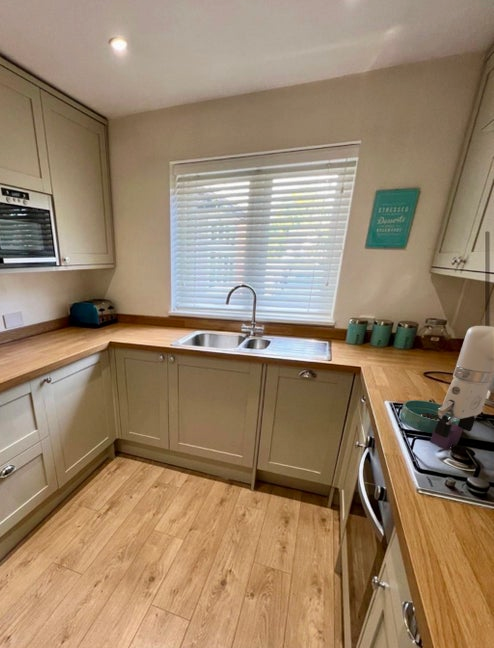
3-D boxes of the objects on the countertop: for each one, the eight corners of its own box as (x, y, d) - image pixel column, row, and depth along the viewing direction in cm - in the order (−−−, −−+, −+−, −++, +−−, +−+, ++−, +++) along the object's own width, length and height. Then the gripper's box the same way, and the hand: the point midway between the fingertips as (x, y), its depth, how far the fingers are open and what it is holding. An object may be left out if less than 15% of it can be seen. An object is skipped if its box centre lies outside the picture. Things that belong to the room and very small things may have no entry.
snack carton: (439, 440, 98) (446, 421, 95) (455, 448, 94) (463, 428, 91) (429, 443, 96) (436, 423, 94) (445, 451, 92) (453, 431, 90)
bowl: (439, 415, 112) (443, 402, 111) (466, 438, 99) (472, 424, 97) (391, 411, 115) (395, 398, 113) (412, 433, 101) (417, 419, 99)
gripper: (467, 383, 80) (446, 444, 86) (509, 375, 85) (487, 433, 92) (435, 373, 86) (418, 431, 92) (477, 366, 92) (458, 421, 98)
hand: (452, 432), depth 92 cm, fingers open, 9 cm apart
